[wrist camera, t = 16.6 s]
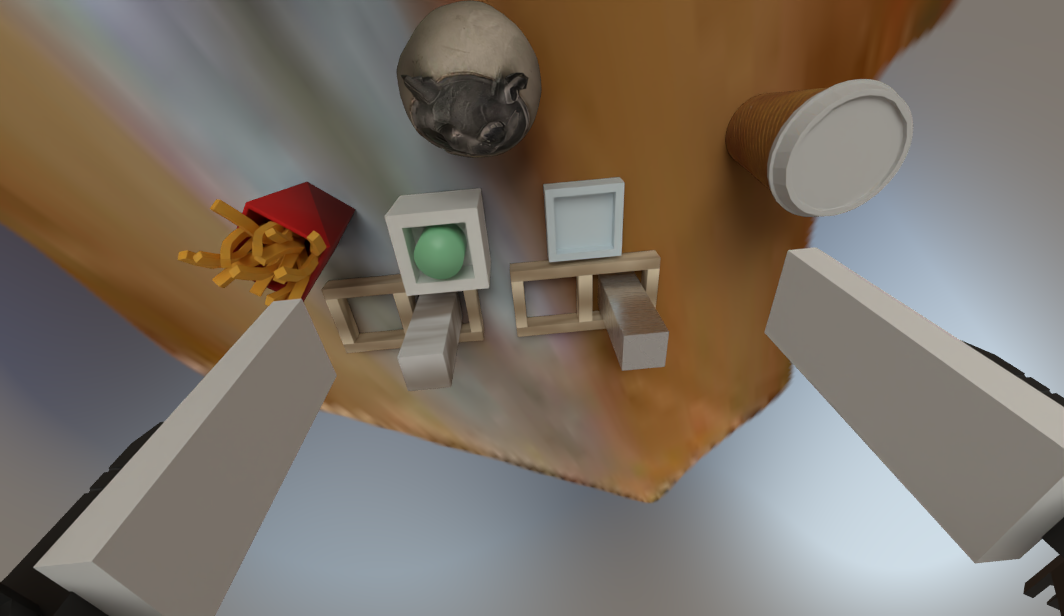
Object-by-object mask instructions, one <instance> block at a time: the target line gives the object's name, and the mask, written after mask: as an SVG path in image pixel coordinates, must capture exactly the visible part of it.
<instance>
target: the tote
mask: <svg viewBox="0 0 1064 616" xmlns="http://www.w3.org/2000/svg"><path fill="white" fill-rule="evenodd" d="M543 188H544V204H545V220H546V236H547V252H548V259H549V262H558V261H569V260H580V259H590V258H601V257H612V256H621V253H622V230H623V206H624V182H623V180H622V179H621V178H620V177H616V178H606V179H595V180H584V181H574V182H563V183H552V184H543Z"/></svg>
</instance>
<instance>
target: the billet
mask: <svg viewBox="0 0 1064 616" xmlns="http://www.w3.org/2000/svg"><path fill="white" fill-rule="evenodd" d="M598 306H599V309H600V312H601V314H602V317H603V320H604V323H605V325H606V328H607V331H608V334H609V336H610V339H611V342H612V345H613V347H614V350H615V353H616V355H617V358H618V361H619V364H620V366H621V369H622V371H623V370H633V369H644V368H654V367H665V360H666V352H667V344H668V336H669V331H668V329H667V327H666V326H665V324H664V322H663V321H662V319H661V317H660V315H659V314H658V312H657V310H656V309H655V307H654V305H653V303H652V302H651V300H650V298H649V297H648V295H647V293H646V291H645V290H644V288H643V286H642V285H641V283H640V281H639V279H638V278H637V276H636V274H635V273H634V271H627V272H617V273H606V274H598Z"/></svg>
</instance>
